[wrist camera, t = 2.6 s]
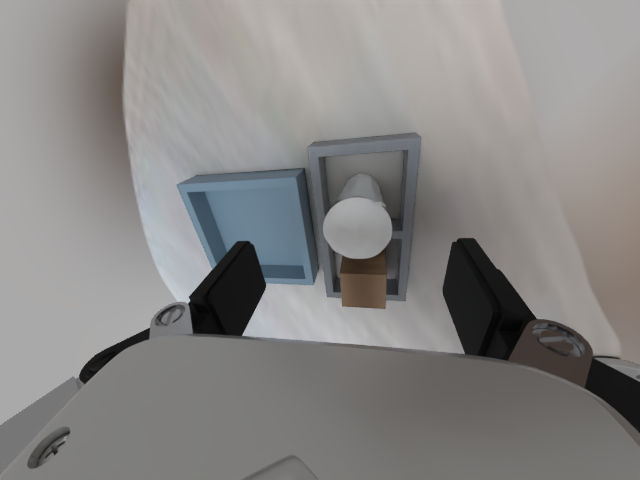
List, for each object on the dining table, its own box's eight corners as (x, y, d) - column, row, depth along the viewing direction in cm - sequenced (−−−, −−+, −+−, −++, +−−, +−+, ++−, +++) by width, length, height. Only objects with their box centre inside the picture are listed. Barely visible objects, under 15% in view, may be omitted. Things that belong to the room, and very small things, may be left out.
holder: (415, 132, 19) (421, 137, 17) (402, 285, 27) (405, 301, 25) (313, 142, 21) (307, 147, 19) (330, 282, 29) (327, 297, 27)
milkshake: (400, 172, 21) (420, 222, 13) (369, 219, 24) (368, 285, 16) (355, 148, 21) (345, 184, 12) (329, 199, 24) (306, 255, 15)
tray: (304, 168, 22) (295, 177, 20) (318, 268, 28) (313, 285, 26) (195, 175, 25) (176, 184, 23) (230, 266, 31) (217, 281, 29)
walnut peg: (383, 238, 25) (386, 275, 20) (382, 268, 27) (385, 308, 22) (345, 238, 26) (339, 273, 21) (347, 268, 28) (342, 306, 23)
